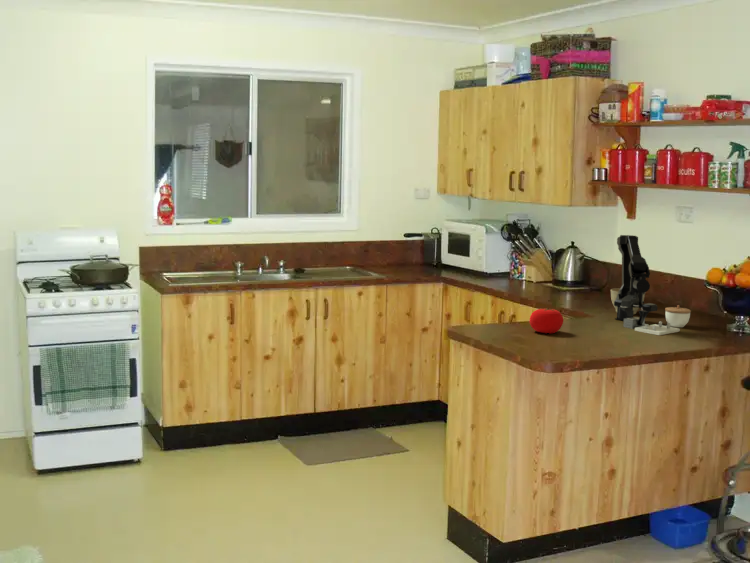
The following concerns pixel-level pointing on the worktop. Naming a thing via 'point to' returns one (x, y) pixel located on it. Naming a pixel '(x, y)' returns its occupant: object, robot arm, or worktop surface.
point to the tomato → (546, 320)
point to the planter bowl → (614, 294)
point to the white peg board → (657, 329)
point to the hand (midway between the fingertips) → (634, 324)
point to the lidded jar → (677, 316)
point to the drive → (632, 322)
